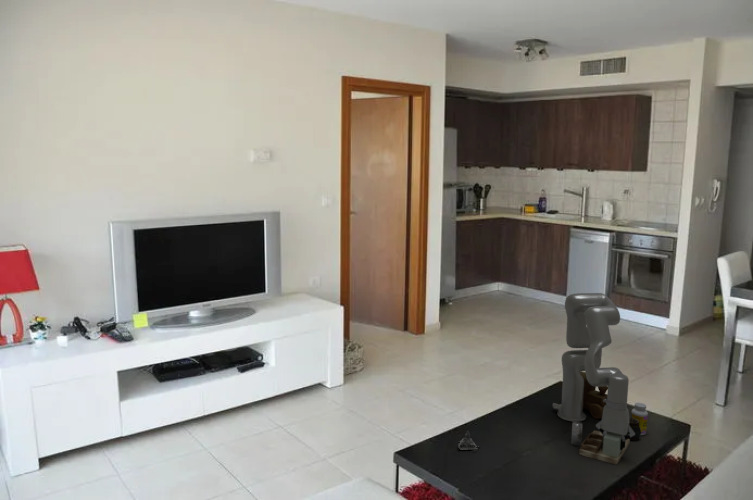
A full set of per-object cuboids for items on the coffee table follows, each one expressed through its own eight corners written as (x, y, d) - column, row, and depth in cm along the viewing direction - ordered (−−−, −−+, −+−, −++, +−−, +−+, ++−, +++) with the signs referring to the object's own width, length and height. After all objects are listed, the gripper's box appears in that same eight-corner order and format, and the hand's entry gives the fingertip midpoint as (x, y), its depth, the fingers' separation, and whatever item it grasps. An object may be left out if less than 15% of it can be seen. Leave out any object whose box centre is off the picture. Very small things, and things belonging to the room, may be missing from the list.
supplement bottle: (643, 437, 264) (646, 409, 262) (627, 432, 268) (630, 405, 266) (647, 432, 270) (650, 404, 268) (632, 427, 274) (634, 400, 272)
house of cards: (479, 442, 260) (479, 425, 258) (480, 452, 251) (481, 434, 250) (457, 441, 260) (458, 424, 259) (458, 451, 252) (459, 433, 251)
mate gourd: (625, 441, 261) (627, 419, 259) (619, 433, 268) (620, 411, 267) (642, 441, 260) (644, 419, 259) (635, 433, 268) (637, 412, 266)
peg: (570, 444, 258) (571, 423, 256) (572, 440, 261) (574, 420, 260) (579, 446, 255) (580, 426, 254) (582, 443, 259) (583, 422, 257)
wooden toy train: (566, 408, 295) (568, 375, 293) (580, 402, 302) (582, 370, 299) (602, 422, 279) (605, 387, 277) (617, 416, 286) (619, 382, 283)
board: (578, 454, 249) (579, 445, 248) (594, 434, 267) (594, 426, 266) (616, 464, 240) (617, 455, 240) (629, 443, 258) (630, 435, 258)
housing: (602, 453, 245) (603, 437, 244) (610, 442, 255) (611, 426, 254) (616, 457, 242) (618, 441, 241) (624, 445, 252) (625, 429, 251)
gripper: (592, 402, 247) (589, 444, 250) (637, 412, 238) (634, 456, 240) (597, 396, 253) (594, 437, 256) (641, 406, 244) (638, 449, 247)
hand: (613, 446), depth 248 cm, fingers closed on housing, 5 cm apart
